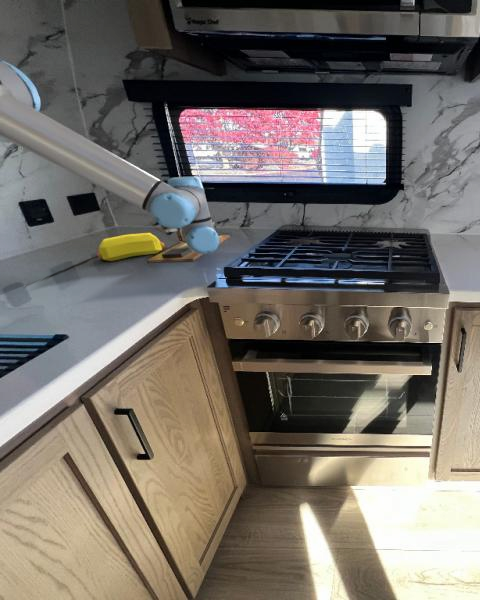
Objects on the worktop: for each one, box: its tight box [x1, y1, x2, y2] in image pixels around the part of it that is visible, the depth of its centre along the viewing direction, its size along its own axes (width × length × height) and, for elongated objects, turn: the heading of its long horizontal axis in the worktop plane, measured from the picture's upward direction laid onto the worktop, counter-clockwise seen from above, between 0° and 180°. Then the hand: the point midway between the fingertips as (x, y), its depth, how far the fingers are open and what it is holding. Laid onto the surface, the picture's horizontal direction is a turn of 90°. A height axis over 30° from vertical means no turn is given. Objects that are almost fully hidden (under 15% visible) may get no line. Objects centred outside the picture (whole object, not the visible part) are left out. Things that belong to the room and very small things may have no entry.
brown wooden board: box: [146, 234, 231, 264], centre depth 114 cm, size 14×28×2 cm, turn 3°
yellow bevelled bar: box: [96, 232, 166, 262], centre depth 107 cm, size 18×7×8 cm
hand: (182, 218), depth 114 cm, fingers closed on soda can, 7 cm apart
